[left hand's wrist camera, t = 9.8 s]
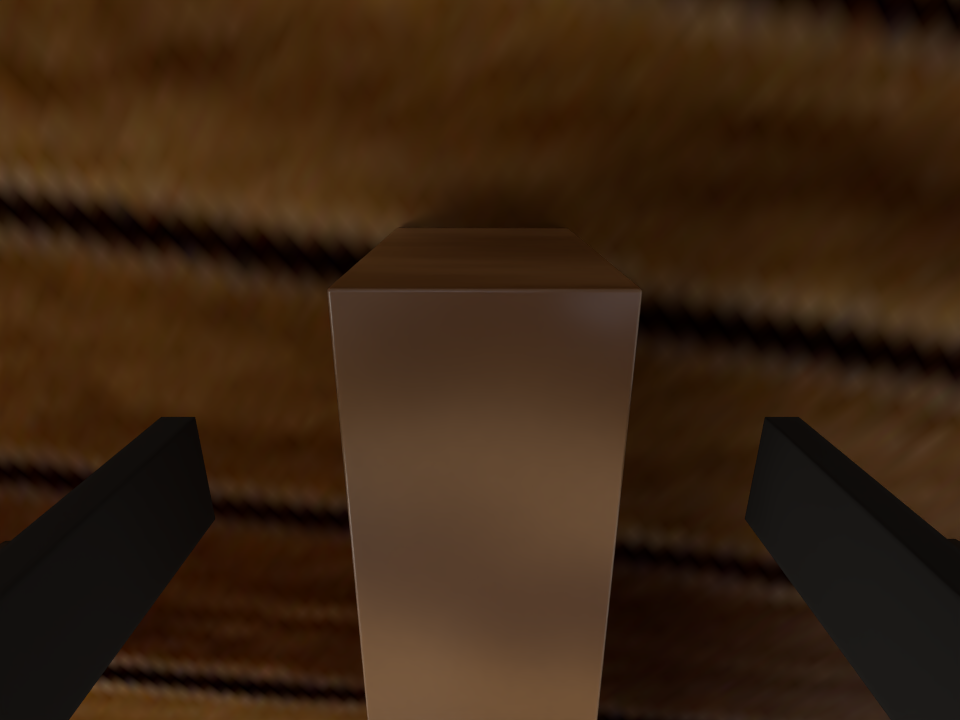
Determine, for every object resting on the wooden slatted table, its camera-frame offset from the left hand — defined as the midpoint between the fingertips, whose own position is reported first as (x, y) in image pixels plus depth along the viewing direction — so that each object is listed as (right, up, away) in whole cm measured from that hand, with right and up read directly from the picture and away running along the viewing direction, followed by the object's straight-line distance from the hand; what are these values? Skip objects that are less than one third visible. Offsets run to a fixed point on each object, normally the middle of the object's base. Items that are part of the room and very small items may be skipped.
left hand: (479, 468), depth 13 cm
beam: (0, -16, +10) cm, 19 cm away
